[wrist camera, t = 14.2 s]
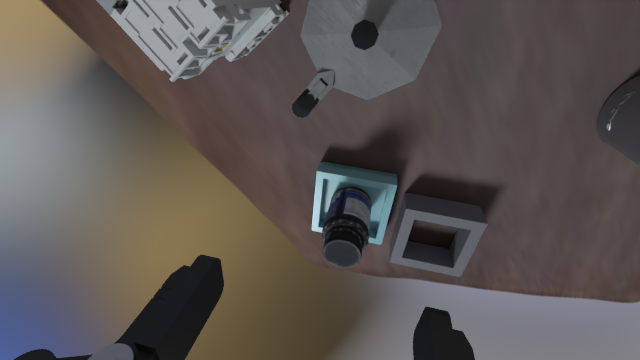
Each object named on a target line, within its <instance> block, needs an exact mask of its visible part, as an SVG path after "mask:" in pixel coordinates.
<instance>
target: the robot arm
mask: <svg viewBox="0 0 640 360" xmlns="http://www.w3.org/2000/svg"><path fill="white" fill-rule="evenodd" d="M598 131H599V134H600V136H601V138H602V139H603V140H604V141H605V142H606V143H607V144H609V145H610V146H612V147H613V148H615V149H616V150H618V151H619V152H620V153H622V154H623V155H625V156H626V157H628V158H629V159H630V160H632V161H633V162H635V163H636V164H638V165H639V166H640V75H639V76H637V77H635V78H633V79H631V80H629V81H628V82H626V83H625V84H624V85H622V86H621V87H620V88H618V89H617V90H616V91H615V92H614V93H613V94H612V95H611V96H610V97H609V99H608V100H607V101H606V103H605V104H604V106H603V108H602V110H601V112H600V114H599V118H598ZM223 287H224V280H223V273H222V266H221V260H220V259H219V258H214V257H210V256H205V255H200V256H198V257H197V258H196V260H195V261H194V263H193V264H192V265H191V266H190V267H189V266H185V265H184V266H183V267H181V268H180V269H178V270H177V271H175V272H174V273H172V274H171V275H170V276H169V278H168V279H167V280H166V281H165V283H164V284H163V285H162V288H161V289H159V290H158V292H157V293H156V294H155V295H154V298H153V299H151V300H150V302H149V303H148V304H147V306H146V307H145V308H144V309H143V310H142V312H141V313H140V314H139V315H138V317H137V318H136V319H135V320H134V322H133V323H132V324H131V325H130V327H129V328H128V329H127V331H126V332H125V333H124V334H123V335H122V337H121V338H120V339H119V340H118V341H117V342H115V343H114V344H111V345H108V346H105V347H103V348H102V349H100V350H98V351H97V352H95V353H94V354H93V355H86V356H76V357H65V358H56V357H55V356H54V354H53V353H52V352H51V351H49V350H46V349H38V350H33V351H30V352H27V353H25V354H23V355H21V356H19V357H17V358H16V359H14V360H185V358H186V356H187V355H188V353H189V351H190V349H191V348H192V346H193V344H194V342H195V341H196V339H197V337H198V335H199V334H200V332H201V330H202V328H203V327H204V325H205V323H206V322H207V319H208V318H209V316H210V315H211V313H212V311H213V309H214V307H215V306H216V304H217V302H218V301H219V298H220V297H221V294H222V291H223ZM413 355H414V360H475V358H474V354H473V349H472V347H471V345H470V343H469V342H468V340H467V338H466V337H465V335H464V333H463V332H462V331H458V330H454V329H452V324H451V318H450V315H449V313H448V312H447V311H443V310H439V309H435V308H430V307H425V309H424V311H423V313H422V315H421V317H420V320H419V322H418V324H417V326H416V329H415V331H414V337H413Z"/></svg>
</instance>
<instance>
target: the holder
mask: <svg viewBox="0 0 640 360" xmlns="http://www.w3.org/2000/svg"><path fill="white" fill-rule="evenodd" d="M414 219H415V220H420V221H426V222H431V223H436V224H441V225H446V226H452V227H457V228H458V230H457V232H456V234H455V236H454V239H453V241H452V243H451V245H450V248H449V249H447V248H442V247H437V246H432V245H427V244H422V243H417V242H412V241H407V240H408V237H409V234H410V231H411V228H412V225H413V222H414ZM487 225H488V223H487V221H486V219H485V216H484V214H483V212H482V209H481V207H480V206H478V205H472V204H467V203H461V202H456V201H450V200H445V199H439V198H434V197H428V196H423V195H417V194H411V193H406V192H405V194H404V197H403V201H402V204H401V207H400V211H399V214H398V218H397V221H396V224H395V228H394V231H393V235H392V238H391V242H390V262H391V263H396V264H400V265H405V266H410V267H414V268H419V269H424V270H429V271H433V272H438V273H443V274H447V275H452V276H457V277H461V275H462V273H463V271H464V269H465V267H466V265H467V263H468V261H469V260H470V258H471V256H472V254H473V252H474V250H475V248H476V246H477V244H478V242H479V240H480V238H481V236H482V234H483V232H484V230H485V228H486V227H487Z"/></svg>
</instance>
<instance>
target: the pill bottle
mask: <svg viewBox="0 0 640 360" xmlns="http://www.w3.org/2000/svg"><path fill="white" fill-rule="evenodd" d="M370 217H371V200H370V197H369V196H368V195H367V193H366V192H365V191H363V190H362V189H360V188H357V187H344V188H341V189H339V190H337V191H336V192H335V193H334V195H333V196H332V198H331V202H330V205H329V209H328V212H327V216H326V219H325V223H324V226H323V230H322V238H323V241H324V248H323V255H324V257H325V259H326V260H327V261H328V262H329V263H330V264H332V265H334V266H336V267H340V268H350V267H353V266H355V265H357V264H358V263H359V261H360V260H361V256H362V250H364V249H365V247H366V246H367V244H368V240H369V229H370Z"/></svg>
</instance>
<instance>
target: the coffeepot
mask: <svg viewBox="0 0 640 360" xmlns="http://www.w3.org/2000/svg"><path fill="white" fill-rule="evenodd" d="M441 27H442V23H441V20H440V16H439V12H438V8H437V5H436V1H435V0H309V4H308V8H307V12H306V16H305V20H304V23H303V27H302V31H301V35H300V36H301V38H302V40H303V42H304V44H305V46H306V48H307V50H308V53H309V55H310V57H311V59H312V61H313V63H314V65H315V67H316V69H317V72H318V75H317V76H316V77H315V78H314V79H313V81H312V82H311V83H310V84H309V86H308V87H307V89H306V90H305V91H304V92H303V93H302V94H301V95H300V97H299V98H298V99H297V100H296V101H295V102H294V103H293V104H292V110H293V113H294V114H295V115H296V116H297V117H301V118H303V117H306V116H307V115H308V114H309V113H310V112H311V110H312V109H313V108H314V107H315V106H316V104H317V103H318V100H320V101H321V100H322V98H323V97H324V96H325V95H326V94H327V93H328V92H329V90H330V89H331V88H332V87H334V88H337V89H339V90H342V91H344V92H347V93H350V94H352V95H355V96H357V97H360V98H363V99H365V100H370V99H372V98H374V97H377V96H379V95H381V94H384V93H386V92H388V91H391V90H393V89H395V88H398V87H400V86H402V85H405V84H407V83H409V82H412V81H414V80H415V79H416V77H417V75H418V73H419V71H420V69H421V67H422V65H423V63H424V61H425V59H426V57H427V55H428V53H429V51H430V49H431V47H432V45H433V43H434V41H435V39H436V37H437V35H438V33H439V31H440V29H441Z"/></svg>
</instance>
